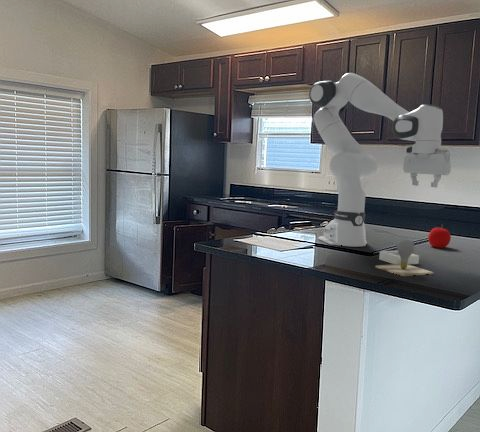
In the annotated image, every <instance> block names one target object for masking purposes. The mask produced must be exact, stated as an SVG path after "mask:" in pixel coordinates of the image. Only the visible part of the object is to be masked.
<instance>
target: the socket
mask: <svg viewBox="0 0 480 432" xmlns="http://www.w3.org/2000/svg"><path fill="white" fill-rule="evenodd" d="M378 257H379V258H378V260H380V261H383V262H387V263H390V264H401V257H400V255H399V253H398V251H397V250H383V251H382V250H380V251H379V256H378ZM419 260H420V255H418V254H414V253H412V254H411V255H410V257H409V258H408V262H407V264H408V265H419Z"/></svg>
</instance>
